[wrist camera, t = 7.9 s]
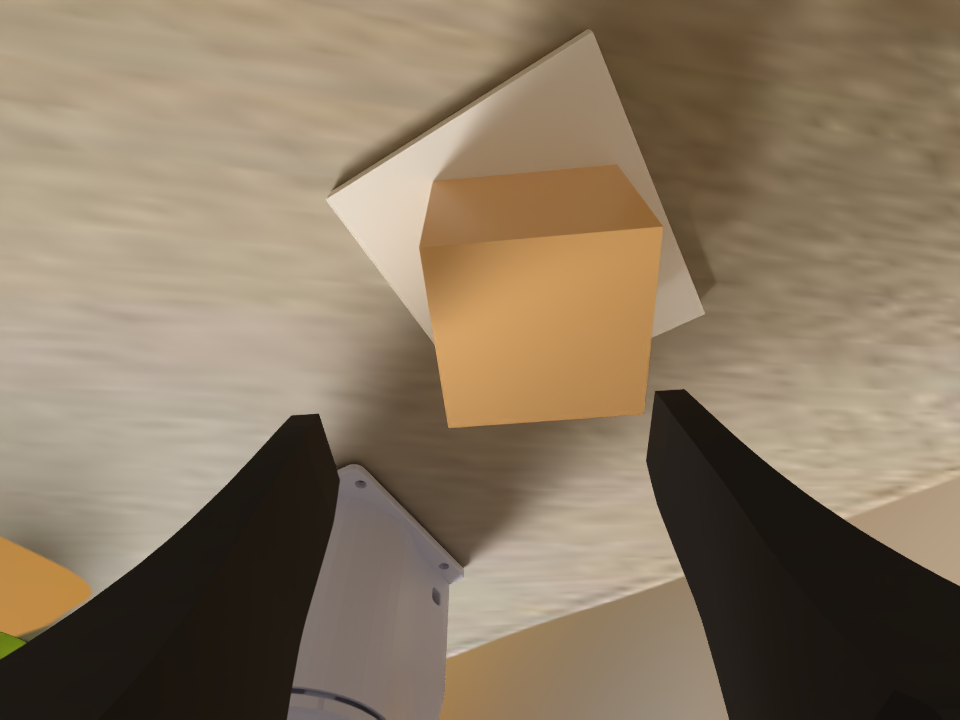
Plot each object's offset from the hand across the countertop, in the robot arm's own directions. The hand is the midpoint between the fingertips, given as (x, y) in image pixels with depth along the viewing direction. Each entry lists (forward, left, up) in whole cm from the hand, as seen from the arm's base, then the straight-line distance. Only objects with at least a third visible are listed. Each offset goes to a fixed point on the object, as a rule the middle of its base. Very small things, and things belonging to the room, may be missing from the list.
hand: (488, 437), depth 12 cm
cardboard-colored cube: (0, -2, -8) cm, 8 cm away
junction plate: (0, -2, -9) cm, 9 cm away
